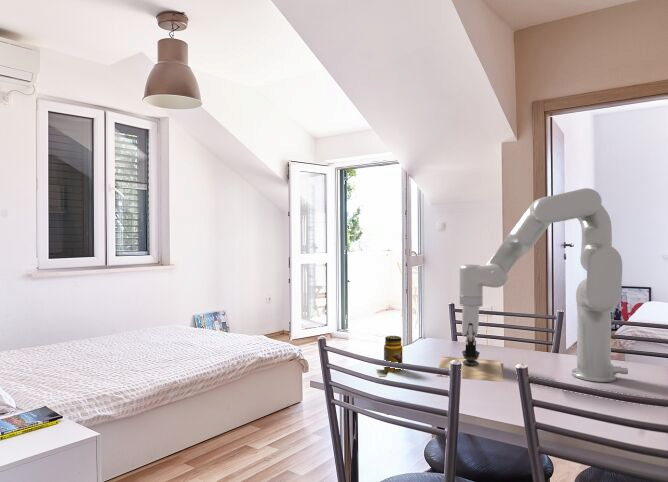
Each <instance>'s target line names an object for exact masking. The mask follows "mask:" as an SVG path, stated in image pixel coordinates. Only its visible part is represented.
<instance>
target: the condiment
mask: <svg viewBox="0 0 668 482" xmlns="http://www.w3.org/2000/svg"><path fill="white" fill-rule="evenodd" d="M384 339H385V341H384V345H383V361H384V360H386V361H391V362H398V363H402V364H403V345H402V337H401V336H397V335H387V336H385V338H384ZM375 370H376V373H377V375H378V377H387V376H388V374H389V373H400V372H402V371H403V369H402V370H401V369H395V368H390V367H384V366H383V369H375Z"/></svg>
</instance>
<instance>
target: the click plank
mask: <svg viewBox="0 0 668 482" xmlns="http://www.w3.org/2000/svg"><path fill="white" fill-rule="evenodd" d="M452 360H459V361H461V362H462V363H463V361H465V360H466V359H465V358H464V357H453V356H441V358H440V362H439V365H438V369H439V368H447V369H449V364H450V361H452ZM475 361H477V362H478V363H479V364H478V365H467V364H464V363H463V366H462V370H472V371H485V372H498V373H502V374H503V368H502V361H501V360H494V359H493V360H491V359H480V358H478V359H476V360H475Z"/></svg>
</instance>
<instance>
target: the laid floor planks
mask: <svg viewBox="0 0 668 482" xmlns="http://www.w3.org/2000/svg"><path fill="white" fill-rule="evenodd" d="M445 369H448V368H445ZM435 376H436V377H438V378H439V377H441V378H449V377H448V376H442V375H437V374H436V375H435ZM461 379H464V380H477V381H489V382H500V383H504V376H503V372H502V373H499V372H486V371H474V370H462V378H461Z"/></svg>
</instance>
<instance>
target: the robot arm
mask: <svg viewBox="0 0 668 482" xmlns="http://www.w3.org/2000/svg"><path fill="white" fill-rule="evenodd" d="M574 219H577V220H578V222H579V224H580V227H581V245H580V246H581V248H580V249H581V250H580V256H579V257H580V259H579V260H580V261H579V262H580V265H581V267H582V268H583V269H584V271H586V278H584V280H582V281H580V283H579V284H578V285H577V287H576V291H575V297H576V298H575V300H576V301H575V302H576V311H577V327H576V328H577V330H576V331H577V334H576V335H577V339H576V340H577V342H576V343H577V344H576V347H577V348H576V349H577V350H576V352H577V353H576V355H577V356H576V368H573V369H572V370H571V375H572V376H573V377H575V378H577V379H580V380H584V381H589V382H597V383H609V382H615V381H616V380H617V374H620V375H628V374H629V368H627V367H622V366H618V365H617V366H615V365H614V364H612V363H611V362H612V361H611V360H612V358H611V357H612V314H611V313H612V312H611V311H613V310H615V309H616V307H618V305H619V304H620V302H621V298H622V282H623V260H622V256H621V254H620V252H619V251H618V250H617V249H616V248H615V247H613V245H612V242H613V233H612V231H613V229H612V220H611V218H610V214H609V212H608V211H607V209H606V208H605V207H604V206H603V205H602V197H601V195H600V193H599V192H598V191H596V190H595V189H593V188H589V187H588V188H587V187H586V188H585V187H583V188H580V189H575V190H572V191H571V190H570V191H566V192H563V193H558V194H553V195H549V196H543V197H540V198H537V199H535V200H534V201H533V202H532V203H531V204H530V205H529V207H528V208H527V209H526V211H525V212H524V213H523V214H522V216H521V218H519V220H518V222H516V224H515V225H514V227H513V228H512V229H511V231H510V232H509V233H508V235H507V236H506V238H504V240H503V242H502V243H501V245H500V246H499V247H498V249H496V251H495V252H494V253H493V255H492V256H491V258H490V259H489V260H488V261H487V263H486V264H485V265H480V264H462V265H460V267H459V306H461V307H462V311H461V312H462V313H461V315H462V318H461V335H462V337H464V336H466V339H465V350H466V357H476V351H477V341H476V337H477V336H478V331H479V320H480V319H479V317H480V314H479V313H480V308H481V307H483V303H484V301H483V299H484V297H483V291H484V290H483V289H484V288H483V287H488V288H495V289H496V288H500V287H503V286H504V285H506V283H507V281H508V273H509V271H511V269H512V268H513V266H514V265H515V264H516V263H517V261H519V260H520V258H522V257H523V256H524V255H525V254H527V253H529V252H530V251H532V249H533V247H534V246H535V245H536V243H537V242H538V240H539V239H540V238H541V237H542V235H543V234H544V233H545V231H547V229H548V228H549V226H550V225H551V224H553V223H560V222H565V221H569V220H574ZM468 334H469V335H468ZM472 334H474V335H472ZM468 337H469V338H468ZM475 341H476V342H475Z"/></svg>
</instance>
